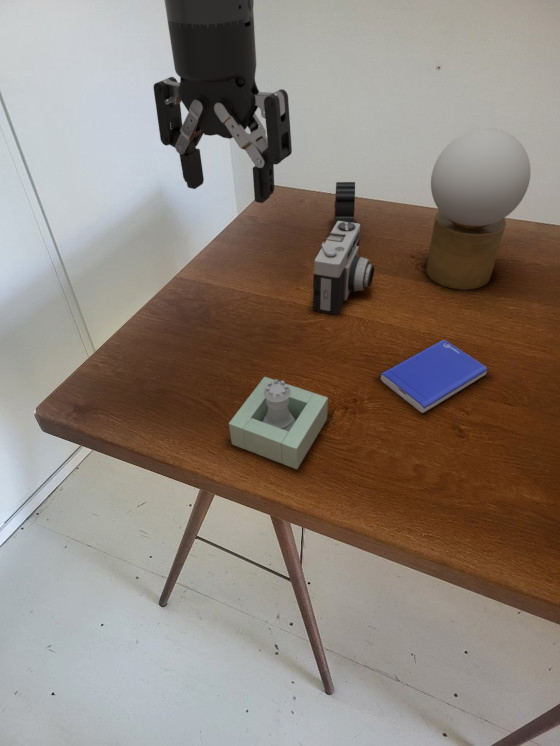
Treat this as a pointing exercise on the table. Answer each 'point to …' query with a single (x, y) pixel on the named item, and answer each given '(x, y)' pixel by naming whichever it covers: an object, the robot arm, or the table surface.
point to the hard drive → (433, 375)
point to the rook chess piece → (278, 405)
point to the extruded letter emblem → (344, 202)
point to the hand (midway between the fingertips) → (228, 192)
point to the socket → (276, 441)
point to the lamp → (474, 204)
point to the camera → (339, 269)
